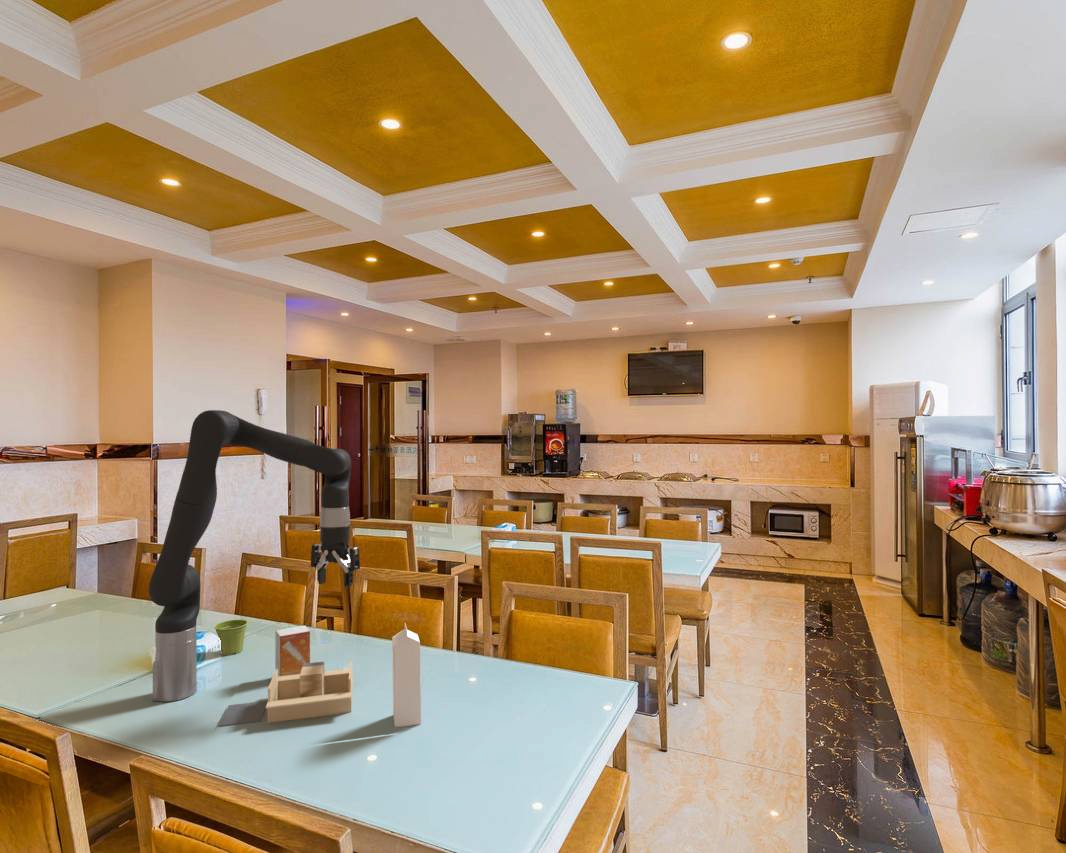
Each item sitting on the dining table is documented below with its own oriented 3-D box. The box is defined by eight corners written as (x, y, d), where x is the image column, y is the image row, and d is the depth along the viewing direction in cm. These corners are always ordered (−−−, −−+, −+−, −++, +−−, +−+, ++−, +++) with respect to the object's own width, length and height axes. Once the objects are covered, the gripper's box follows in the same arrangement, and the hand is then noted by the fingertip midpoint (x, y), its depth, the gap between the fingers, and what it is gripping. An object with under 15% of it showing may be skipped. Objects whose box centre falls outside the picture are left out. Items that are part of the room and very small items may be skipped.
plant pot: (238, 657, 183) (238, 628, 183) (208, 657, 183) (208, 628, 183) (253, 646, 193) (253, 619, 193) (224, 646, 193) (224, 619, 193)
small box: (279, 684, 162) (279, 636, 163) (275, 677, 168) (274, 630, 168) (310, 677, 167) (310, 630, 167) (305, 670, 172) (305, 624, 172)
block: (300, 713, 144) (299, 675, 144) (303, 699, 152) (303, 663, 152) (322, 710, 146) (321, 673, 146) (324, 697, 153) (324, 661, 154)
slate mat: (218, 728, 138) (218, 725, 138) (228, 707, 149) (228, 705, 149) (260, 723, 141) (260, 720, 141) (268, 703, 151) (268, 700, 151)
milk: (394, 728, 137) (392, 631, 138) (393, 716, 143) (391, 623, 143) (421, 724, 139) (419, 628, 139) (419, 712, 145) (417, 620, 145)
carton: (265, 729, 138) (265, 694, 138) (277, 696, 155) (277, 664, 155) (350, 718, 143) (350, 684, 143) (353, 687, 160) (352, 657, 160)
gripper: (303, 524, 160) (303, 585, 160) (347, 527, 154) (347, 591, 154) (323, 520, 167) (323, 579, 167) (366, 523, 161) (366, 584, 161)
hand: (335, 584), depth 160 cm, fingers open, 8 cm apart
